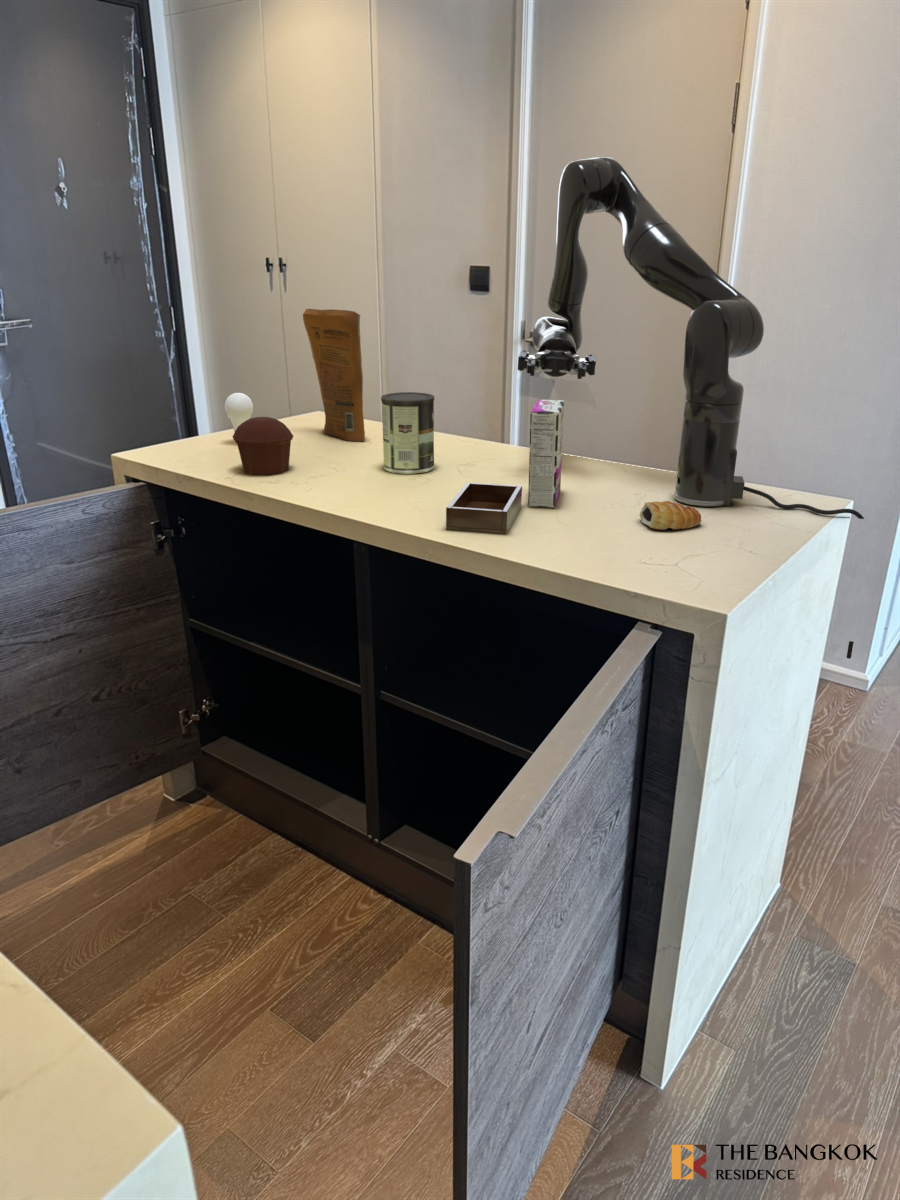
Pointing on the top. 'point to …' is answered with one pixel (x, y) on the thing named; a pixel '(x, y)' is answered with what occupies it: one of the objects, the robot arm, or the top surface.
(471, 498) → the open box
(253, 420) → the muffin
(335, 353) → the pancake mix bag
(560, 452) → the candy bar box
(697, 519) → the pastry
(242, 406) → the lightbulb
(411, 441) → the coffee can
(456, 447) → the top surface
